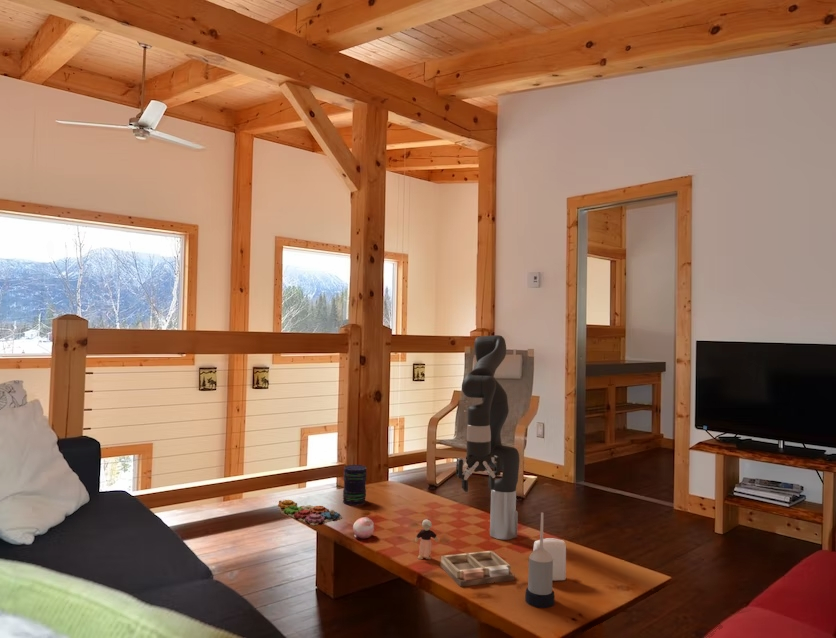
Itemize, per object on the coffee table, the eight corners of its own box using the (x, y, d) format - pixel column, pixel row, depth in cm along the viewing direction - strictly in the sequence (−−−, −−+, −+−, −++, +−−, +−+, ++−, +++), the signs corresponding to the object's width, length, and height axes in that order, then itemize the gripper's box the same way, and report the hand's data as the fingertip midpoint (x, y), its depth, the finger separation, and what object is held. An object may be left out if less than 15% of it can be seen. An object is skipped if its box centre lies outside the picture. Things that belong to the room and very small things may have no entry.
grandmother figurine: (416, 560, 201) (417, 522, 201) (413, 556, 205) (414, 518, 205) (438, 559, 203) (439, 520, 203) (435, 554, 207) (436, 517, 207)
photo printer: (534, 582, 187) (535, 541, 187) (530, 576, 192) (532, 536, 192) (567, 581, 188) (568, 541, 188) (562, 575, 193) (564, 536, 193)
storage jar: (357, 497, 273) (358, 463, 273) (370, 502, 265) (371, 468, 265) (338, 501, 266) (339, 466, 266) (350, 506, 259) (351, 471, 259)
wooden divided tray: (491, 560, 203) (491, 550, 203) (514, 580, 188) (514, 568, 188) (440, 566, 197) (440, 555, 197) (460, 586, 182) (460, 574, 182)
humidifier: (551, 595, 178) (554, 509, 178) (556, 608, 170) (559, 518, 170) (523, 594, 178) (525, 508, 179) (527, 607, 170) (529, 516, 170)
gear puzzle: (267, 508, 254) (267, 499, 254) (300, 501, 266) (300, 492, 266) (312, 527, 232) (313, 516, 232) (345, 519, 244) (346, 508, 244)
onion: (372, 543, 219) (369, 525, 217) (351, 543, 221) (348, 525, 219) (377, 529, 227) (374, 512, 225) (357, 529, 228) (354, 512, 226)
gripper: (494, 435, 199) (494, 485, 199) (453, 437, 195) (452, 488, 195) (504, 439, 192) (503, 491, 192) (461, 442, 188) (461, 495, 188)
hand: (478, 490), depth 193 cm, fingers open, 8 cm apart
